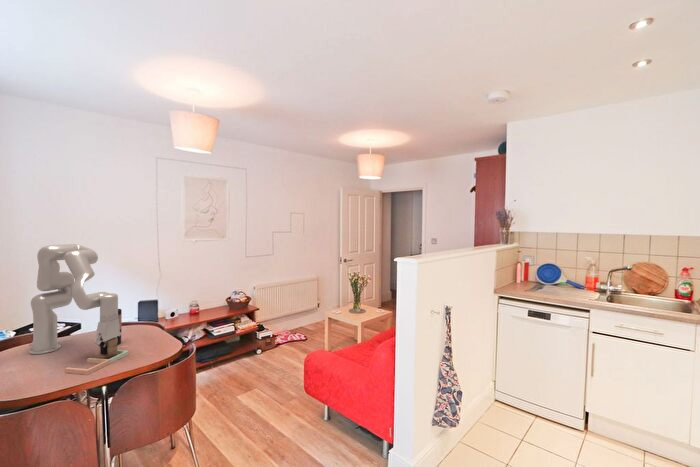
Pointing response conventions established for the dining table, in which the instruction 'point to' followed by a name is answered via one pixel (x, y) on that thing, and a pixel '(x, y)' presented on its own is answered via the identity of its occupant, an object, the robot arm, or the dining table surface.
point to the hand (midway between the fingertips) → (108, 351)
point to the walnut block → (110, 347)
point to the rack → (100, 362)
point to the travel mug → (119, 324)
